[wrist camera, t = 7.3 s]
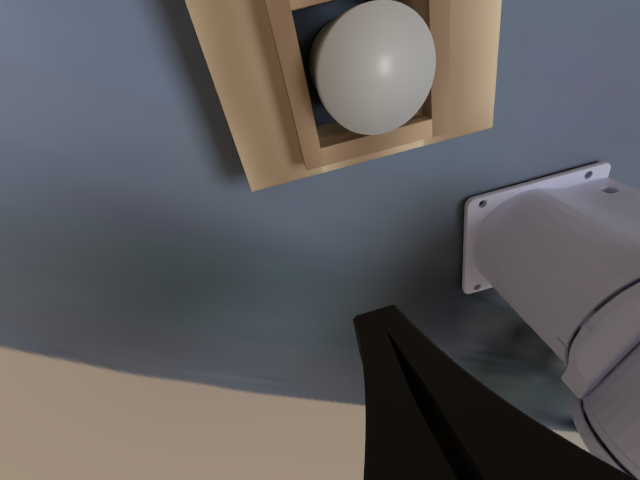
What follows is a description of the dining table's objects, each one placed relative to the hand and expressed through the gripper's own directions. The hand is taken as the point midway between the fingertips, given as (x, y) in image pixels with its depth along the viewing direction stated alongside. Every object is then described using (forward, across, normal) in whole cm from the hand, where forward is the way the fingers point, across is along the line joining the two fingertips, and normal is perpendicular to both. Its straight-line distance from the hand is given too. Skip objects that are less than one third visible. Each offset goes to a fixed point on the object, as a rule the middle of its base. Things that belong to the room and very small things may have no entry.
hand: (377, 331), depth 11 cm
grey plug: (+10, -3, -6) cm, 12 cm away
